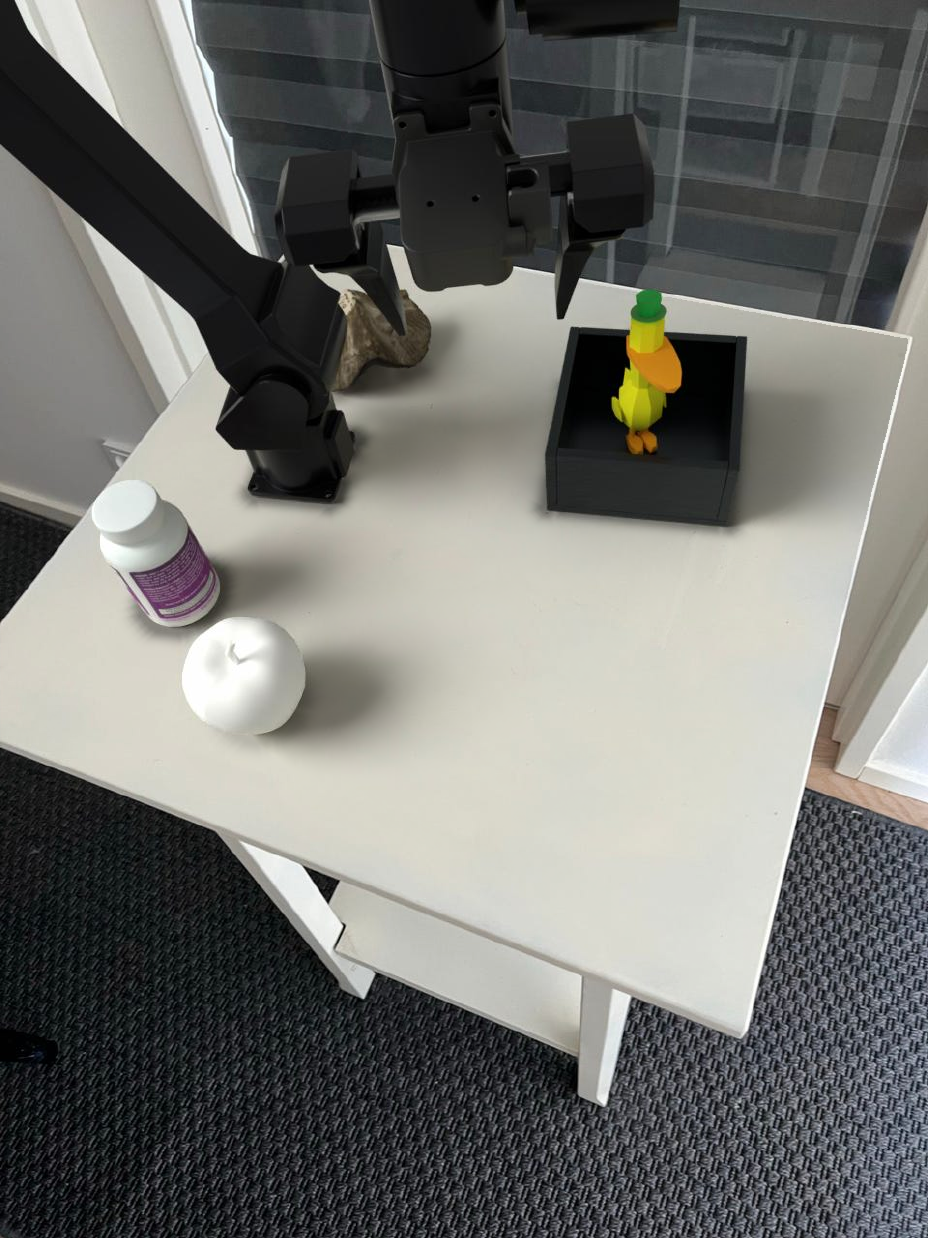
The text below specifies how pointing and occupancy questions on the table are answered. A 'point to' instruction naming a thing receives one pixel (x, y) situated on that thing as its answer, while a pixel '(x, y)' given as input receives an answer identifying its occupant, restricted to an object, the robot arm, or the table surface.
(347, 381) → the brown irregular lump
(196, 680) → the plain white apple
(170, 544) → the pill bottle
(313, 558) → the table surface
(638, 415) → the toy figure
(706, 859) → the table surface
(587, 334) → the open black box
